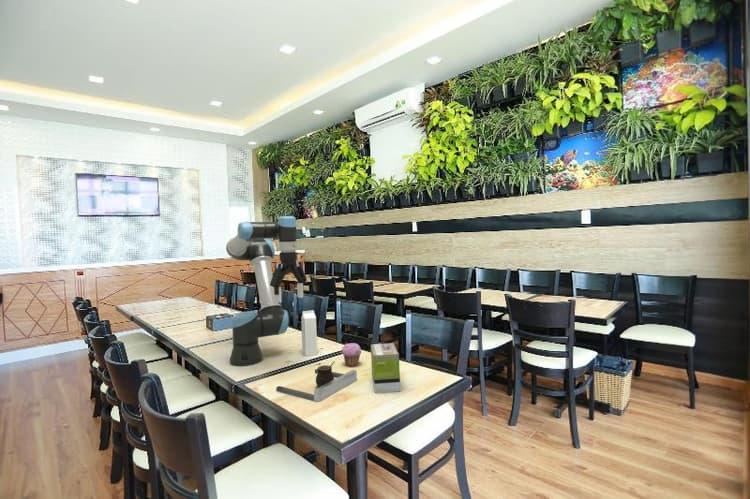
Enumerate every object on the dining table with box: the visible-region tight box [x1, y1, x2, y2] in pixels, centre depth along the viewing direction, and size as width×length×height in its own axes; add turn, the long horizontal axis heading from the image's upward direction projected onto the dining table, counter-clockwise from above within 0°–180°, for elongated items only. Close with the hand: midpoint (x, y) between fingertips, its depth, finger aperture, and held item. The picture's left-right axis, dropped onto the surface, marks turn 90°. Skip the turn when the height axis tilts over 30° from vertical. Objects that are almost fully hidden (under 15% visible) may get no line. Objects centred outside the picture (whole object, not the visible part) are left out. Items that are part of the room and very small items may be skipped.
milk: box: [300, 309, 318, 357], centre depth 199 cm, size 6×6×22 cm
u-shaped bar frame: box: [275, 368, 358, 403], centre depth 156 cm, size 21×24×4 cm
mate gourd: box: [315, 361, 335, 388], centre depth 154 cm, size 7×8×10 cm
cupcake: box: [341, 342, 362, 367], centre depth 181 cm, size 9×9×10 cm
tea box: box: [370, 342, 401, 394], centre depth 155 cm, size 15×10×15 cm, turn 5°
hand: (289, 299), depth 174 cm, fingers open, 13 cm apart
